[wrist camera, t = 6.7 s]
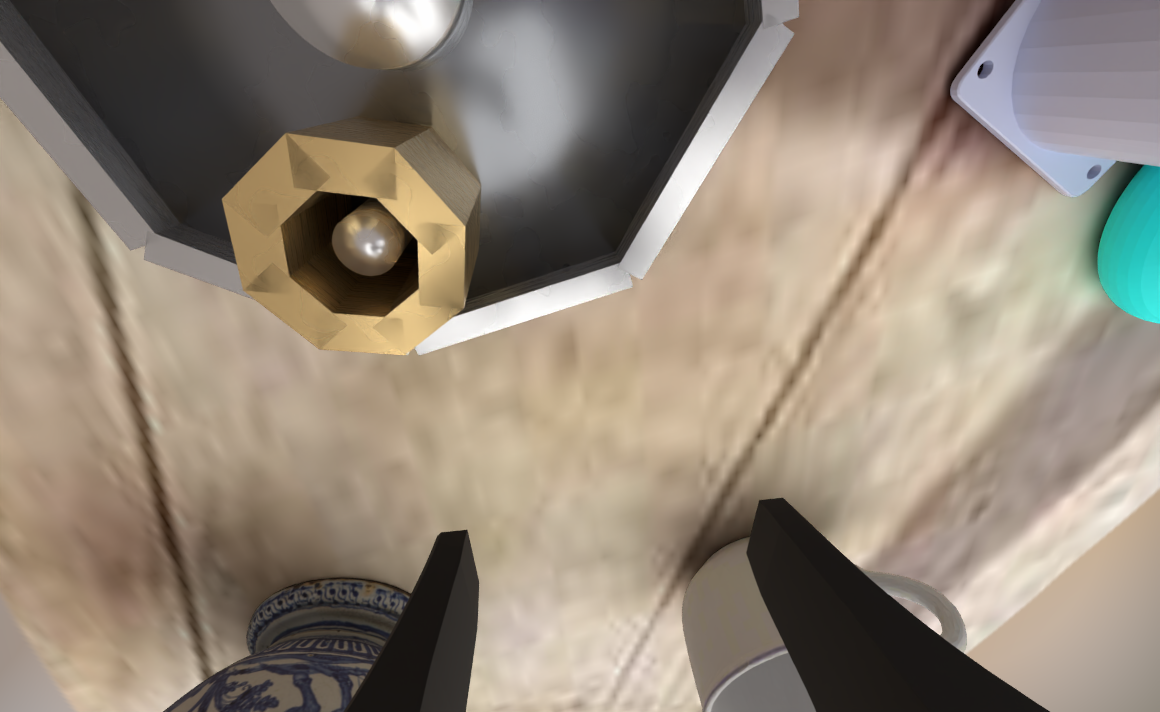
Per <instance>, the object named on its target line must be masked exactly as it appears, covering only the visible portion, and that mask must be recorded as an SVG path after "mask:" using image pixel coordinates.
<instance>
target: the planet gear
mask: <svg viewBox="0 0 1160 712" xmlns="http://www.w3.org/2000/svg"><path fill="white" fill-rule="evenodd" d="M351 195H357V196H366V197H374V198H377V199H378V200H379V201H380V202H381V203H382V204H383V205H384V206H385V207H386V208H387V209H388V210H389V212H390V213H391V214H392V215H393V216H394V217H395V218H396V219H397V220H398V221H399V222H400V223H401V224H402V225H403V226H404V227H405V228H406V229H407V230H408V231H409V232H410V233H411V234H412V235H413V236H414V237H415V238H416V239H417V240H418V254H412V253H402V254H401V255H400V257H399V258H398V260H397V261H396V263H395V264H394V265H393V267H392V268H391V269H390V270H388V271H387V272H385V273H383V274H381V275H376V276H366V275H361V274H358V273H356V272H354V271H352V270H350V269H349V268H347V267H346V266H345V265H344V264H343V263H342V262H341V261H340V260H339V259H338V257H337V256H336V254H335V251H334V249H333V245H332V235H333V231H334V229H335V227H336V225H337V224H338V223H339V222H340V221H341V220H343V219H344V218H345V217H346V216H348V215H349V214H350V213H351V212H353V209H352V199H351ZM222 202H223V206H224V211H225V215H226V219H227V224H228V228H229V232H230V237H231V241H232V245H233V249H234V254H235V258H236V262H237V267H238V271H239V275H240V279H241V284H242V288H243V291H244V292H246V293H247V294H248V295H250V296H251V297H252V298H254V299H255V300H256V301H257V302H259V303H260V304H261V305H263V306H264V307H265V308H266V309H268V310H269V311H270V312H272V313H273V314H274V315H275V316H277V317H278V318H279V319H281V320H282V321H283V322H285V323H286V324H287V325H288V326H290V327H291V328H292V329H294V330H295V331H296V332H297V333H299V334H300V335H301V336H303V337H304V338H305V339H307V340H308V341H309V342H310V343H312V344H313V345H314V346H316V347H317V348H318V349H321V350H336V351H351V352H366V353H381V354H396V355H406V354H407V353H408V352H410V351H411V350H412V349H413V348H415V347H416V346H417V345H418V344H420V343H421V342H422V341H424V340H425V339H426V338H427V337H429V336H430V335H431V334H432V333H434V332H435V331H436V330H438V329H439V328H440V327H441V326H443V325H444V324H445V323H446V322H448V321H449V320H450V319H452V318H453V317H454V316H455V315H457V314H458V313H459V312H460V311H462V310H463V309H464V306H465V302H466V298H467V294H468V290H469V286H470V282H471V278H472V275H473V271H474V267H475V263H476V259H477V255H478V251H479V234H480V207H481V184H480V183H479V182H478V181H477V179H476V178H475V177H474V176H473V175H472V173H471V172H470V171H469V170H468V169H467V167H466V166H465V165H464V164H463V163H462V161H461V160H460V159H459V158H458V157H457V156H456V154H455V153H454V152H453V151H452V150H451V148H450V147H449V146H448V145H447V144H446V142H445V141H444V140H443V139H442V138H441V136H440V135H439V134H438V133H437V132H436V131H435V129H434V128H433V127H428V126H421V125H414V124H407V123H400V122H394V121H387V120H380V119H373V118H366V117H359V116H357V117H353V118H349V119H344V120H340V121H336V122H331V123H327V124H323V125H318V126H314V127H310V128H305V129H301V130H297V131H292V132H288V133H285V134H284V135H283V136H282V137H281V138H280V139H279V140H278V142H277V143H276V144H275V145H274V146H273V147H272V148H271V149H270V150H269V151H268V152H267V153H266V154H265V155H264V156H263V157H262V158H261V159H260V160H259V161H258V162H257V163H256V164H255V165H254V166H253V167H252V168H251V169H250V170H249V171H248V172H247V174H246V175H245V176H244V177H243V178H242V179H241V180H240V181H239V182H238V183H237V184H236V185H235V186H234V187H233V188H232V189H231V190H230V191H229V192H228V193H227V194H226V195H225V196H224V197H223V198H222Z"/></svg>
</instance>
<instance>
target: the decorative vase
mask: <svg viewBox="0 0 1160 712" xmlns="http://www.w3.org/2000/svg"><path fill="white" fill-rule="evenodd" d="M410 596H411V595H410V594H409V593H407V592H405V591H403V590H400V589H398V588H396V587H393V586H390V585H387V584H382V583H378V582H374V581H367V580H360V579H344V578H339V579H323V580H316V581H310V582H305V583H302V584H298V585H294V586H291V587H288V588H285V589H283V590H281V591H279V592H277V593H275V594H273V595H272V596H270V597H269V598H267V599H266V600H265V601H264V602H263V603H262V604H261V605H260V606H259V607H258V608H257V610H256V611H255V613H254V614H253V617H252V619H251V622H250V624H249V627H248V631H247V646H248V650H249V652H250V654H251V655H250V656H248V657H246V658H244V659H241V660H239V661H237V662H235V663H233V664H232V665H230V666H228V667H226V668H224V669H223V670H221V671H219V672H217V673H216V674H214V675H213V676H211V677H210V678H208V679H207V680H205V681H204V682H202V683H201V684H199V685H198V686H196V687H195V688H193V689H192V690H191V691H189V692H188V693H187V694H185V695H184V696H183V697H181V698H180V699H179V700H177V701H176V702H175V703H174V704H172V705H171V706H170V707H168V708H167V709H166V710H165V711H163V712H344V710H345V709H346V707H347V705H348V704H349V702H350V701H351V699H352V698H353V696H354V694H355V693H356V691H357V690H358V688H359V686H360V685H361V683H362V682H363V680H364V678H365V677H366V675H367V673H368V672H369V670H370V668H371V667H372V665H373V663H374V661H375V660H376V658H377V656H378V654H379V653H380V651H381V649H382V648H383V646H384V644H385V642H386V641H387V639H388V637H389V635H390V634H391V632H392V630H393V628H394V626H395V624H396V622H397V621H398V619H399V617H400V615H401V613H402V611H403V609H404V607H405V605H406V603H407V601H408V599H409V598H410Z"/></svg>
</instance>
